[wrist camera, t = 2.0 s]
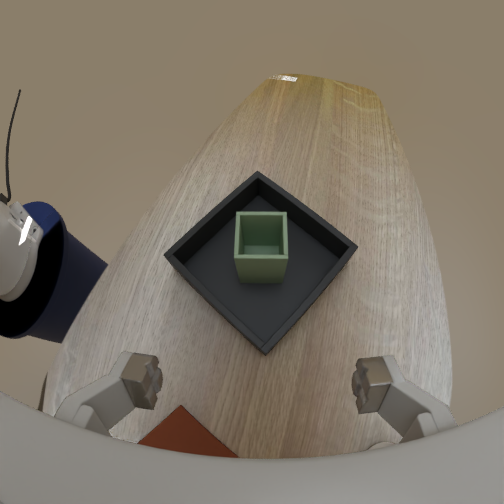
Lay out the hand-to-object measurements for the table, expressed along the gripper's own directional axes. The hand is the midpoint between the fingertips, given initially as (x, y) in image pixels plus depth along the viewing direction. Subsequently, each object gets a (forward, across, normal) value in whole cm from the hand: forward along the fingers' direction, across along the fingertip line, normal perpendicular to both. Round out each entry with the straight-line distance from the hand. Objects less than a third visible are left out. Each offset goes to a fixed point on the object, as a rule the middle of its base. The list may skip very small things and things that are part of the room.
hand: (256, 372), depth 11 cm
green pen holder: (+24, 0, +6) cm, 24 cm away
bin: (+24, 0, +6) cm, 25 cm away
